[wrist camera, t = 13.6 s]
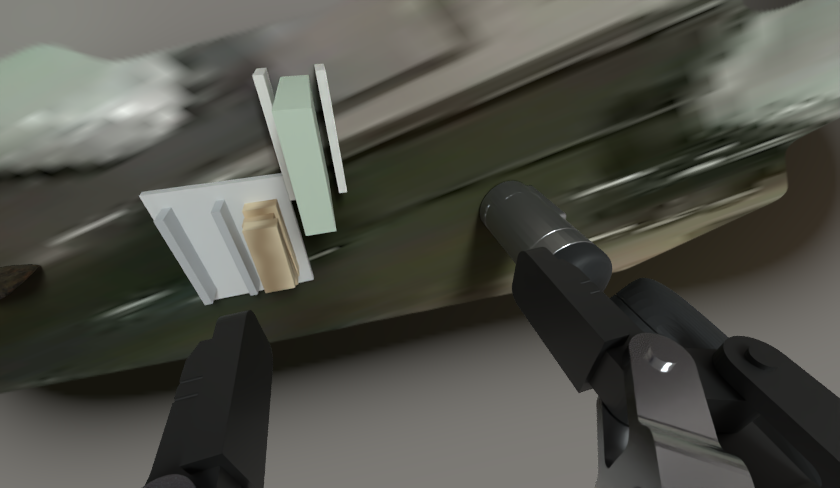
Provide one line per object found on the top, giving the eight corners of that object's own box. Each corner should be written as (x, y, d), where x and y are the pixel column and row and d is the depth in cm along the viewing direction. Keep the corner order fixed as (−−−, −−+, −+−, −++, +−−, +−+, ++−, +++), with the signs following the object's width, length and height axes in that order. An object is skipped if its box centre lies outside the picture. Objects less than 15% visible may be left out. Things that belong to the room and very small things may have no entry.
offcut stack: (278, 198, 43) (275, 222, 39) (300, 267, 51) (300, 294, 46) (243, 203, 42) (236, 229, 38) (271, 272, 50) (268, 301, 45)
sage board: (308, 74, 37) (311, 107, 26) (327, 173, 44) (336, 230, 34) (280, 76, 36) (271, 110, 26) (304, 176, 44) (305, 235, 33)
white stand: (323, 63, 37) (325, 70, 34) (344, 178, 45) (347, 191, 42) (256, 68, 35) (252, 75, 32) (290, 186, 44) (290, 200, 41)
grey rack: (282, 172, 43) (281, 186, 39) (313, 275, 53) (314, 292, 50) (142, 191, 39) (128, 208, 36) (205, 297, 50) (199, 316, 47)
